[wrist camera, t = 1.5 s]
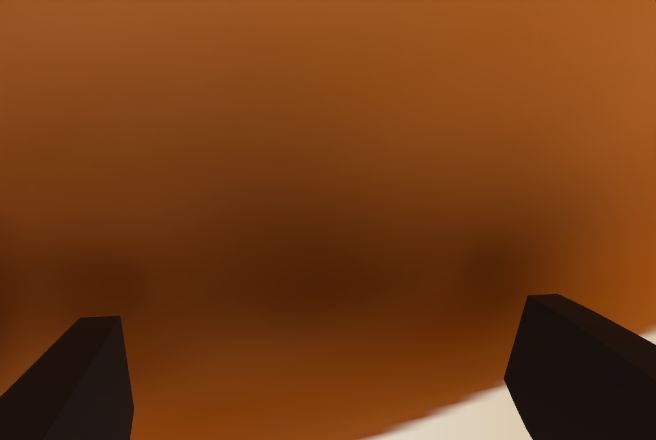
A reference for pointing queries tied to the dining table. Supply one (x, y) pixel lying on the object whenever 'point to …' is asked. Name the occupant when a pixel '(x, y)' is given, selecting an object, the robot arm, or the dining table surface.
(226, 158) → the dining table surface
